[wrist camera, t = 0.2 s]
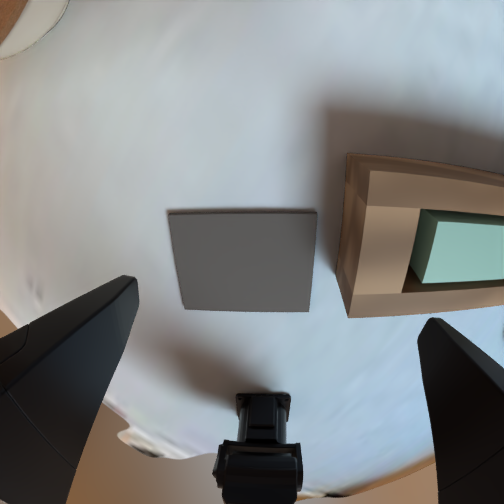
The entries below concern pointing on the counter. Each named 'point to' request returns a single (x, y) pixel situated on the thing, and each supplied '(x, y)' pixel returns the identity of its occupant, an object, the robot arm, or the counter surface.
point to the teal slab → (458, 246)
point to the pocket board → (406, 234)
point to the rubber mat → (245, 260)
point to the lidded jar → (26, 23)
